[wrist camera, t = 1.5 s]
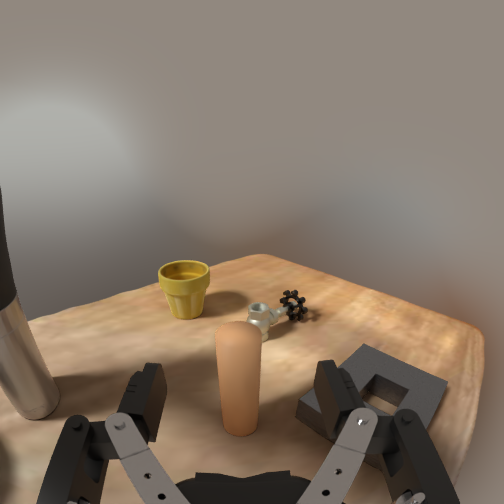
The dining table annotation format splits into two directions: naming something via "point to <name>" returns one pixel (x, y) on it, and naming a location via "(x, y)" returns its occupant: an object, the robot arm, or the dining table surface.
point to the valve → (275, 312)
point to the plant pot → (185, 287)
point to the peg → (239, 375)
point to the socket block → (380, 390)
